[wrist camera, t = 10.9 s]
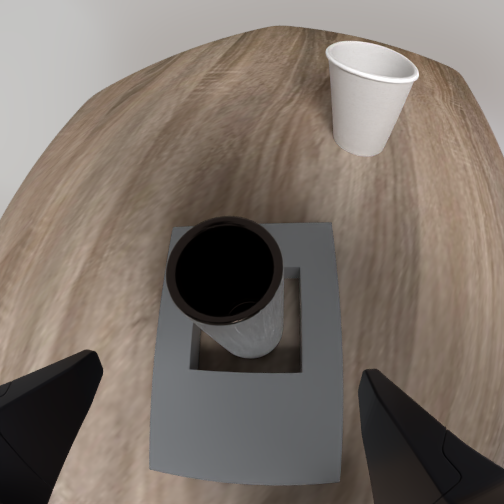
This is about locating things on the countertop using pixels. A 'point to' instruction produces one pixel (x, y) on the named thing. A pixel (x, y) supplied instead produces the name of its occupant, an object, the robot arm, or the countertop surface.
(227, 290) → the gray tube
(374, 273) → the countertop surface
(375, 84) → the dixie cup
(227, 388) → the socket board
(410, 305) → the countertop surface
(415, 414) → the robot arm
